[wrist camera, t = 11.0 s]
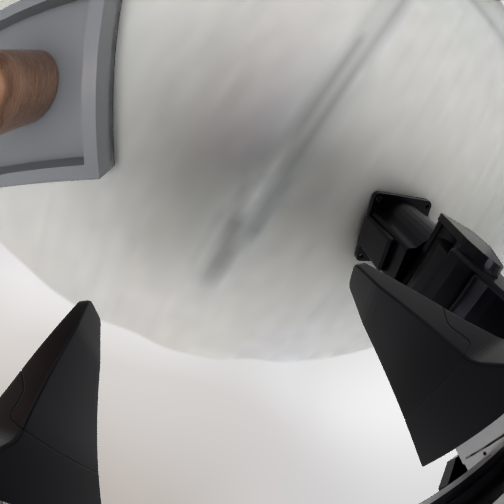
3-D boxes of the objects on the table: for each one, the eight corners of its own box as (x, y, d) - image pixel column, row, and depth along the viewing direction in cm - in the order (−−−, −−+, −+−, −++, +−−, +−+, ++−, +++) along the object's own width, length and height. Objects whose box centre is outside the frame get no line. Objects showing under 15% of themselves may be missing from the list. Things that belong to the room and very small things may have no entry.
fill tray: (125, -18, 11) (110, -31, 8) (114, 165, 18) (99, 179, 16) (-16, 32, 9) (-38, 33, 6) (-13, 178, 16) (-33, 192, 14)
